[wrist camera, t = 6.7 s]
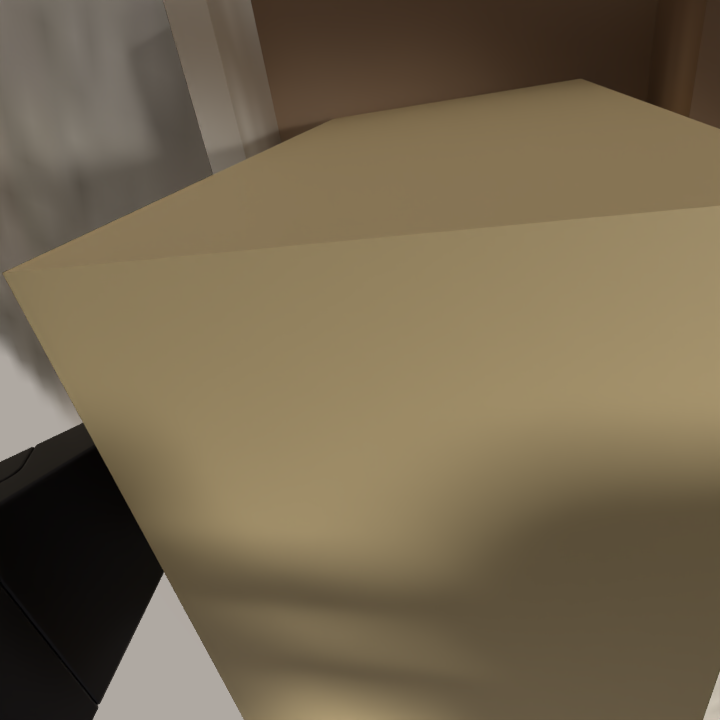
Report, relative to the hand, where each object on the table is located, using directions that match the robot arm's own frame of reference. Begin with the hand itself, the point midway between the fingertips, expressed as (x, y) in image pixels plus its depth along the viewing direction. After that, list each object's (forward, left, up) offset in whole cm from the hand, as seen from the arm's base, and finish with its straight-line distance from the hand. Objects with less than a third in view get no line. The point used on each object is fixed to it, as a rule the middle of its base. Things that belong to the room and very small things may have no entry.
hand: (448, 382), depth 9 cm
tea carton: (0, 0, -4) cm, 4 cm away
